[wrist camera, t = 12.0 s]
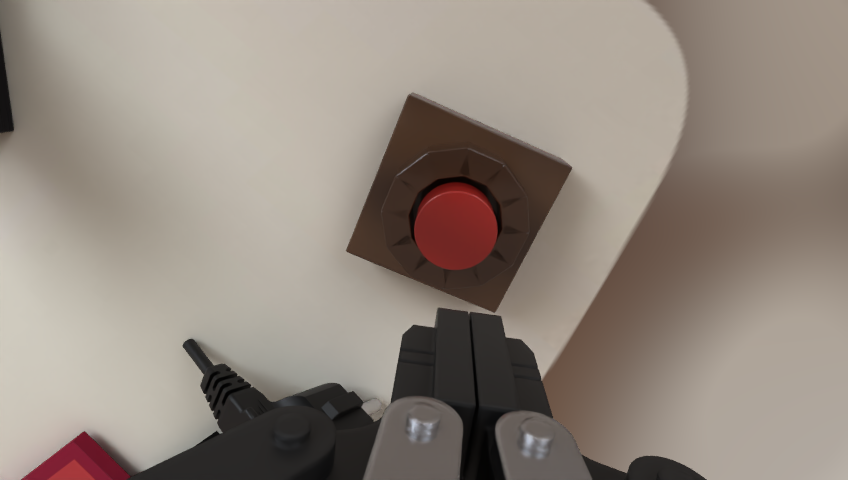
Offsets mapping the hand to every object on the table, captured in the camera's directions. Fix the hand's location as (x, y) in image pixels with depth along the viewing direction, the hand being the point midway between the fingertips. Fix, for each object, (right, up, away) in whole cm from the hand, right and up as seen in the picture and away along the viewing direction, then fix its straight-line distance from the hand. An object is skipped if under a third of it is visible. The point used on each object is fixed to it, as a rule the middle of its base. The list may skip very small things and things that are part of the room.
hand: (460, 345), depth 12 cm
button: (0, +3, +10) cm, 11 cm away
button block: (+1, +5, +13) cm, 14 cm away
